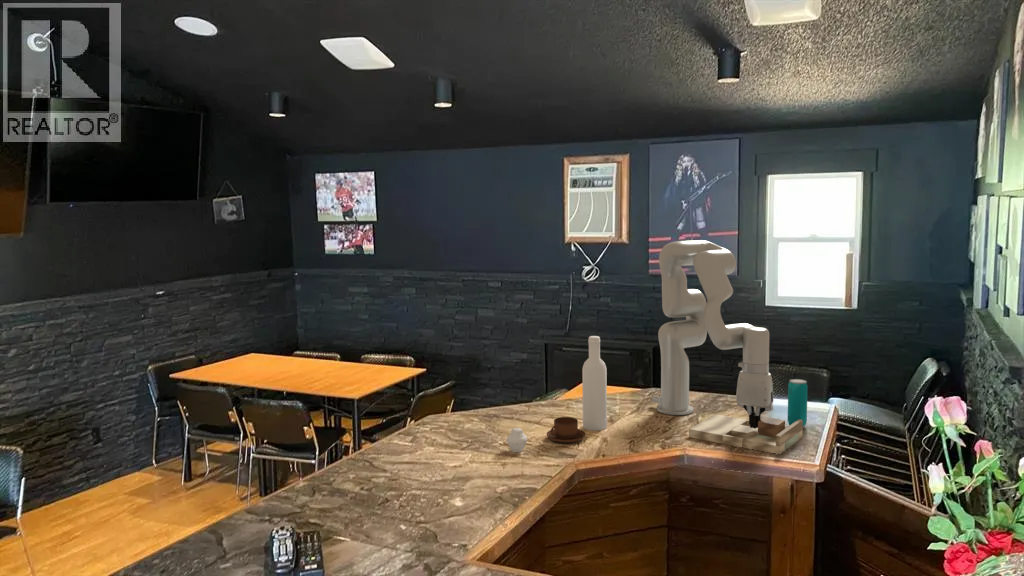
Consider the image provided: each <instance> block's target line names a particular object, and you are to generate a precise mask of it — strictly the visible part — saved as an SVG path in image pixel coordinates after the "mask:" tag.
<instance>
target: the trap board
mask: <svg viewBox="0 0 1024 576" xmlns="http://www.w3.org/2000/svg"><path fill="white" fill-rule="evenodd" d="M803 429H804V428H803V420H800V419H798V420H797V421H796V422H794V423H793V424H791V425H790V426H789V425H788V426H785V429H784V430H783V431H782V432H780V433H779V434H777V435H776V438H774V437H768V436H763V435H758V427H757V428H756V429H755V428H750V424H749V419H747V418H740V417H733V416H729V415H722V414H716V413H715V414H714V415H711V416H710V417H708V418H706V419H704V420H703V421H701V422H700V423H697V424H695V425H693V426H691V427H690V428H688V438H693V439H696V440H702V441H707V442H712V443H717V444H722V445H728V446H731V447H732V446H733V447H737V448H742V447H743V448H742V449H747V448H748V450H752V449H754V450H753V451H757V450H759V452H762V451H764V452H763V453H767V452H771V453H770V454H772V453H776V454H775V455H778V454H780V455H781V453H782V452H783V451H784V452H786V451H787V450H788V449H789V448H791V447H793V445H794V444H796V443H797V442H798V441H800V440H801V439H802V438H803ZM790 446H791V447H790ZM787 448H788V449H787ZM786 449H787V450H786ZM784 452H783V453H784ZM783 453H782V454H783Z"/></svg>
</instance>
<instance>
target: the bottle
mask: <svg viewBox="0 0 1024 576" xmlns="http://www.w3.org/2000/svg"><path fill="white" fill-rule="evenodd" d="M587 341H588V342H587V343H588V358H587V359H586V360H585V361H584V363H583V365H582V374H581V375H582V428H583V429H584V430H586V431H594V432H599V431H604V430H606V429H607V427H608V415H607V414H608V413H607V412H608V410H607V409H608V398H607V397H608V395H607V394H608V392H607V391H608V390H607V386H608V385H607V383H608V382H607V375H608V373H607V370H608V369H607V365H606V363H605V362H604V360H603V359H602V358H601V337H600V336H598V335H590V336H589V337H588V340H587Z"/></svg>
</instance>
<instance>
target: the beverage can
mask: <svg viewBox="0 0 1024 576" xmlns="http://www.w3.org/2000/svg"><path fill="white" fill-rule="evenodd" d="M807 383H808V381H807V380H806V379H800V378H793V379H789V382H788V385H787V389H788V390H787V423H788V427H789V426H790V425H791V424H793V423H794V422H796V421H797V420H798V419H800V420H803V429H804V428H805V427H806V424H807V421H808V420H807V419H808V390H809V389H808V387H809V386H808V384H807Z"/></svg>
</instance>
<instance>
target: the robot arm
mask: <svg viewBox="0 0 1024 576" xmlns="http://www.w3.org/2000/svg"><path fill="white" fill-rule="evenodd" d="M658 264H659V269H660V275H661V300H662V301H661V303H662V304H661V306H662V312H663V314H664V316H666V317H667V318H685V319H684V320H676V321H668V322H665V323H664V324H662V325H661V326H660V327H659V329H658V332H657V335H658V336H657V337H658V342H659V349H660V367H661V369H660V396H659V395H654V394H653V395H652V397H651V402H652V403H657V405H656V411H657V412H659V413H660V414H664V415H670V416H685V415H689V414H692V413H694V407H693V406H692V405H690V404H689V403H690V361H689V356H688V355H687V353H686V351H685V349H687V348H692V347H693V348H694V347H699V346H701V345H703V344H704V343H705V342H706V339H707V335H708V336H709V338H710V341H712V343H713V345H714V347H716V348H717V349H719V350H732V349H740V348H742V361H741V362H738V364H737V365H738V368H739V367H740V368H741V370H740V371H739V372H738V373H739V374H738V378H737V385H736V393H735V394H736V395H735V400H736V404H737V406H738V407H740V408H744V410H745V411H746V412H747V414H748V420H749V424H750V428H755V429H756V428H757V427H758V421H760V420H761V417H762V416H761V415H762V414H763V413H764V412H772V411H773V410H774V406H773V403H774V386H773V385H774V384H773V378H772V375H771V373H770V371H769V370H770V368H769V367H770V331H769V329H767V328H766V327H761V326H760V327H759V326H754V325H752V324H749V323H746V322H743V323H740V322H739V323H731V324H725V322H724V320H723V318H722V314H721V306H722V305H723V304H722V303H723V302H725V301H726V300H728V299H729V298H730V297H732V295H733V293H734V287H732V285H731V282H730V279H729V277H728V275H731V274H732V273H734V272H735V269H736V267H737V260H736V257H735V255H734V254H733V252H731V251H730V250H729V249H727V248H725V247H722V246H720V245H718V244H716V243H713V242H711V241H708V240H703V239H700V240H699V239H698V240H695V239H693V240H676V241H671V242H669V243H667V244H665V245H664V246H662V248H661V250H660V252H659V257H658ZM682 266H683V267H684V266H685V267H686V266H693V267H694V271H695V272H696V275H697V278H698V280H699V282H700V285H701V287H702V289H703V292H704V293H703V292H702V291H700V290H699V289H696V288H688V278H687V275H686V273H685V271H684V269H683V268H682Z"/></svg>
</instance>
